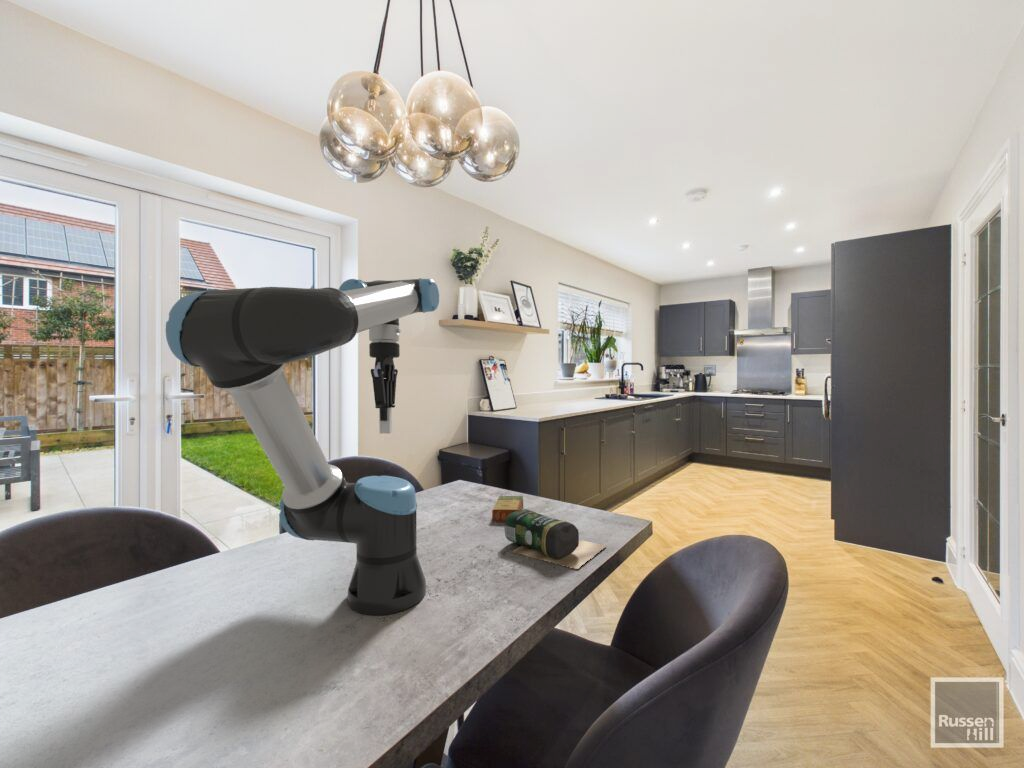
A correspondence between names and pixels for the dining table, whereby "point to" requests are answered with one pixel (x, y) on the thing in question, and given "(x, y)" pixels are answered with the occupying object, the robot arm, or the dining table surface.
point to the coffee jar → (542, 533)
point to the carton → (506, 507)
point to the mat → (572, 560)
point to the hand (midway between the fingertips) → (385, 433)
